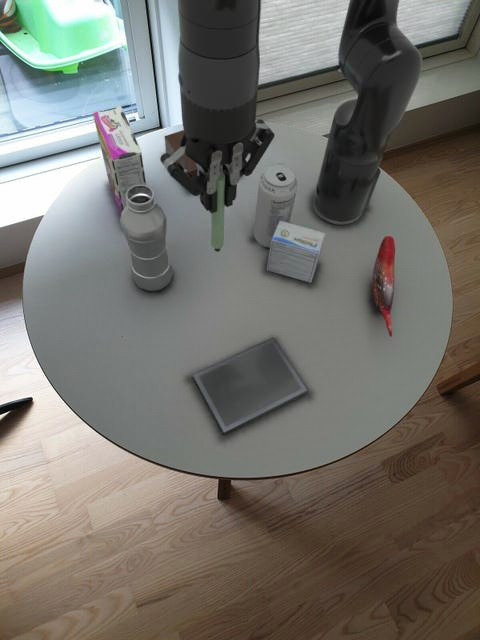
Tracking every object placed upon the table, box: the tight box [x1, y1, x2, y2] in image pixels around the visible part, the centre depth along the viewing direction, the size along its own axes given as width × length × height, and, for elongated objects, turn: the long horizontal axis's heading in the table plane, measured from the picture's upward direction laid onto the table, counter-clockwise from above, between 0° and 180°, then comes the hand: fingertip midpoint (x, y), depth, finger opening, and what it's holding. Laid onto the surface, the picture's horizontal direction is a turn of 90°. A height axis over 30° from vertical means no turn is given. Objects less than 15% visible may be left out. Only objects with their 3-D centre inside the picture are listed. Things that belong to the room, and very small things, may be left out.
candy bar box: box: [92, 106, 147, 215], centre depth 91 cm, size 11×5×16 cm, turn 23°
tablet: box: [192, 337, 309, 436], centre depth 81 cm, size 14×10×1 cm
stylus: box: [210, 172, 225, 253], centre depth 69 cm, size 2×2×14 cm
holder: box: [164, 129, 222, 176], centre depth 102 cm, size 10×10×5 cm
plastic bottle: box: [119, 185, 173, 292], centre depth 81 cm, size 6×7×20 cm
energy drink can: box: [252, 162, 299, 249], centre depth 89 cm, size 6×6×15 cm
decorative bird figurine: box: [371, 235, 396, 338], centre depth 85 cm, size 3×18×10 cm, turn 176°
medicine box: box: [266, 220, 326, 284], centre depth 89 cm, size 8×4×9 cm, turn 72°
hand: (218, 204), depth 67 cm, fingers closed on stylus, 1 cm apart
